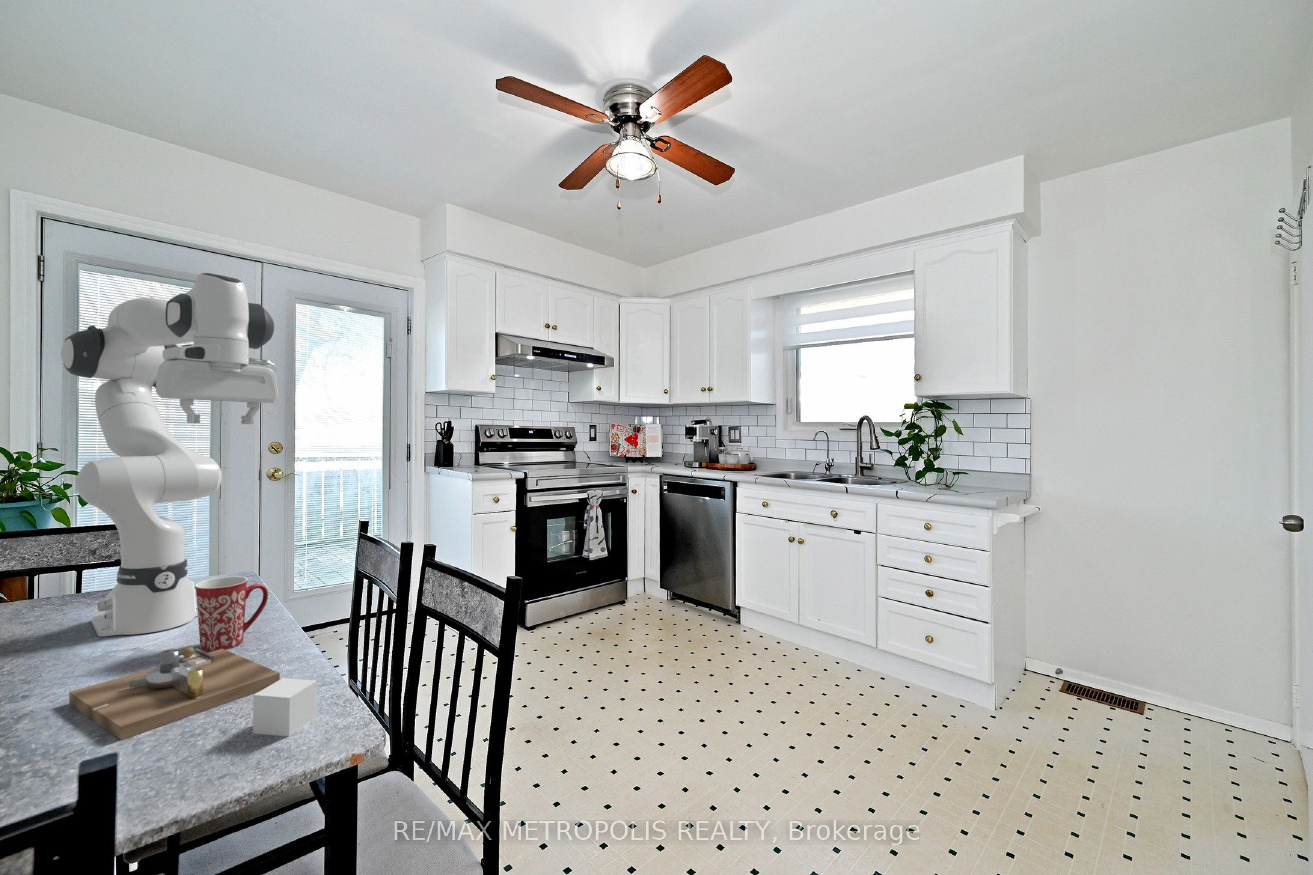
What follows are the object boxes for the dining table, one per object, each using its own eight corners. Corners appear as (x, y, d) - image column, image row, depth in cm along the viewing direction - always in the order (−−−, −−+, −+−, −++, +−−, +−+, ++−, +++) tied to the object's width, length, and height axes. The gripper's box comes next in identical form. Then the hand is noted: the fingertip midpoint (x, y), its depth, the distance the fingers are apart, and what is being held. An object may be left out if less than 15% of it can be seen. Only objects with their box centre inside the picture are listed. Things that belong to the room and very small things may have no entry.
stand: (64, 703, 95) (64, 676, 95) (220, 657, 114) (220, 635, 114) (118, 741, 84) (118, 711, 84) (279, 683, 103) (279, 659, 103)
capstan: (127, 686, 96) (127, 657, 96) (193, 666, 104) (193, 639, 104) (162, 707, 89) (162, 675, 89) (230, 684, 98) (230, 655, 97)
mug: (195, 657, 114) (195, 590, 114) (192, 643, 121) (193, 580, 121) (270, 642, 123) (271, 579, 122) (264, 630, 129) (265, 571, 129)
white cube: (282, 714, 93) (283, 677, 93) (316, 717, 92) (317, 680, 92) (252, 733, 87) (253, 694, 87) (289, 736, 86) (289, 697, 86)
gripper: (268, 361, 125) (268, 424, 126) (151, 349, 107) (151, 422, 108) (284, 360, 122) (284, 424, 123) (167, 347, 104) (167, 423, 105)
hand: (221, 423), depth 115 cm, fingers open, 8 cm apart
